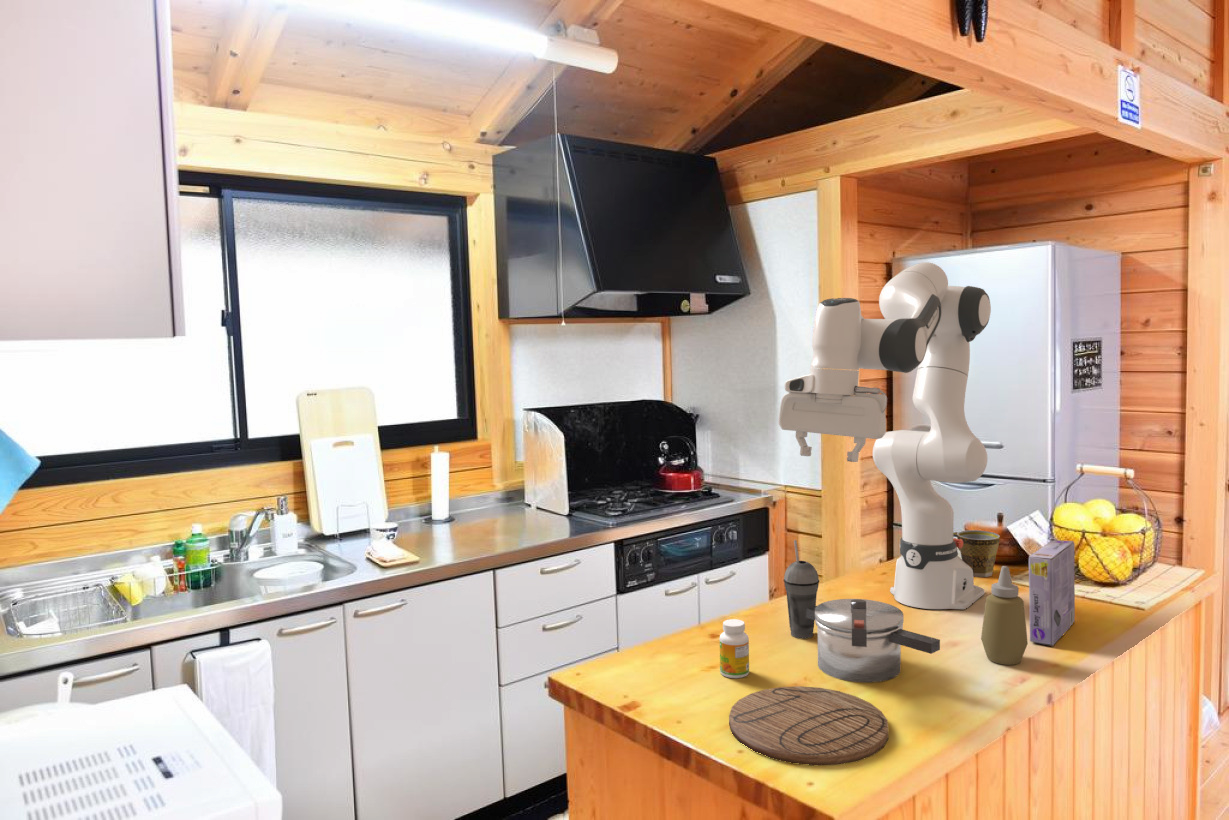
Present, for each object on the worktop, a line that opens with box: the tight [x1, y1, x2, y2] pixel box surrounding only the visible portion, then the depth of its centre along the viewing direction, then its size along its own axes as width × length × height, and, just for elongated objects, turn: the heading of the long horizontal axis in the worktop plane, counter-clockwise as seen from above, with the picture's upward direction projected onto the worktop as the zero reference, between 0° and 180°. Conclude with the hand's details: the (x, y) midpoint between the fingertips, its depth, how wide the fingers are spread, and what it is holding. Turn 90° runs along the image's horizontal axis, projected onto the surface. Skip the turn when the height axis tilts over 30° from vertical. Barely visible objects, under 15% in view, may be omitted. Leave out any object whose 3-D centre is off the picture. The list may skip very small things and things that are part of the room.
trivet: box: [728, 685, 889, 766], centre depth 144 cm, size 25×25×2 cm
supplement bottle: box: [719, 618, 750, 679], centre depth 166 cm, size 5×5×10 cm
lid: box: [815, 598, 905, 647], centre depth 162 cm, size 16×26×5 cm, turn 165°
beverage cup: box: [783, 539, 820, 639], centre depth 185 cm, size 7×7×20 cm
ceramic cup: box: [953, 529, 1001, 578], centre depth 226 cm, size 13×10×10 cm
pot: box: [806, 605, 941, 683], centre depth 166 cm, size 16×27×9 cm, turn 40°
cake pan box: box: [1028, 539, 1076, 647], centre depth 182 cm, size 19×5×18 cm, turn 140°
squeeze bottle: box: [980, 565, 1028, 666], centre depth 168 cm, size 8×8×18 cm
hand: (828, 458), depth 167 cm, fingers open, 8 cm apart
